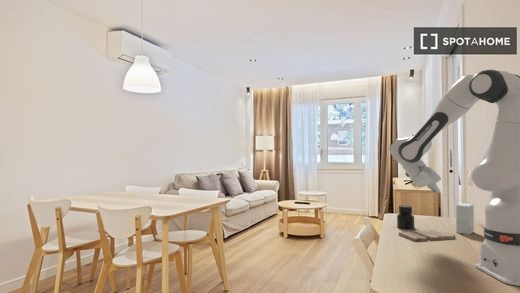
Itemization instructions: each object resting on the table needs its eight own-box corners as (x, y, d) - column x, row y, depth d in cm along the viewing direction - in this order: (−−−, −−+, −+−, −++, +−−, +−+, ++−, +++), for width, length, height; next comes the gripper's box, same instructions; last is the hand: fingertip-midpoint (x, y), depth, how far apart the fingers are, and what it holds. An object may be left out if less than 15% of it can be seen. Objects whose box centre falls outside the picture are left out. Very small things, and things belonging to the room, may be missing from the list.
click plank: (430, 237, 146) (455, 235, 149) (413, 231, 158) (436, 229, 161) (430, 240, 146) (455, 238, 149) (413, 234, 158) (436, 232, 161)
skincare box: (461, 230, 166) (461, 202, 167) (474, 232, 161) (474, 204, 162) (456, 232, 161) (455, 204, 161) (469, 235, 156) (468, 205, 157)
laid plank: (415, 241, 145) (414, 238, 145) (398, 235, 156) (398, 231, 156) (427, 240, 146) (427, 237, 146) (410, 234, 158) (410, 231, 158)
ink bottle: (416, 227, 173) (415, 205, 174) (414, 230, 166) (413, 208, 166) (397, 225, 179) (397, 204, 179) (395, 228, 171) (394, 206, 172)
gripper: (430, 160, 137) (453, 185, 133) (413, 167, 156) (433, 189, 153) (418, 168, 136) (441, 193, 133) (404, 175, 156) (423, 197, 152)
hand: (437, 191), depth 143 cm, fingers closed
